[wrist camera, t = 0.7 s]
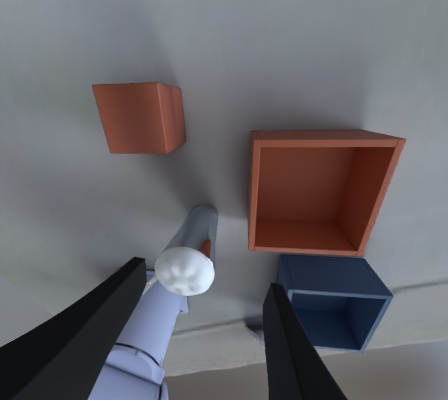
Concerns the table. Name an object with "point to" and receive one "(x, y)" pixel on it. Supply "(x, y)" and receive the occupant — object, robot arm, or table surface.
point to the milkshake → (189, 255)
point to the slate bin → (334, 299)
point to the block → (141, 117)
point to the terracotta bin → (318, 189)
